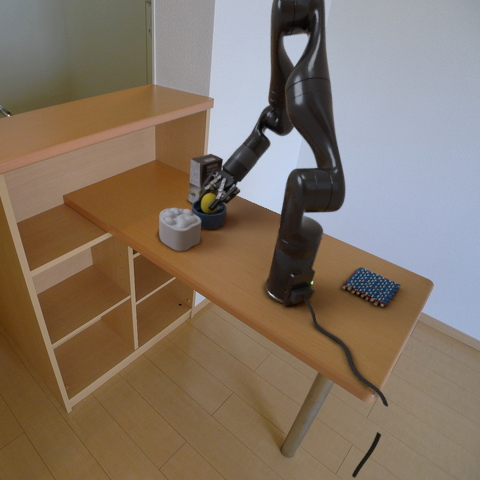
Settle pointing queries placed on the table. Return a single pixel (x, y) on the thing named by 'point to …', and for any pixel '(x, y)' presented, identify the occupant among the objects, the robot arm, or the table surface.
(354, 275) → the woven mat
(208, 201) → the lemon
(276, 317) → the table surface
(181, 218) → the paw print block
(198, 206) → the bowl
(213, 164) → the coffee box
